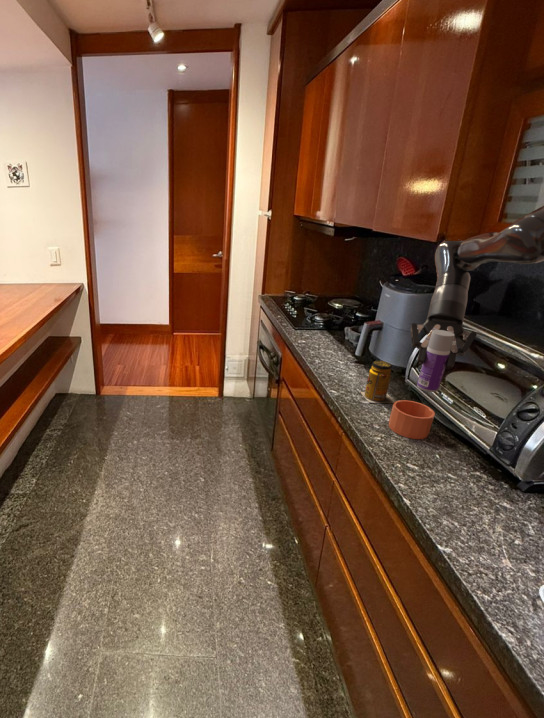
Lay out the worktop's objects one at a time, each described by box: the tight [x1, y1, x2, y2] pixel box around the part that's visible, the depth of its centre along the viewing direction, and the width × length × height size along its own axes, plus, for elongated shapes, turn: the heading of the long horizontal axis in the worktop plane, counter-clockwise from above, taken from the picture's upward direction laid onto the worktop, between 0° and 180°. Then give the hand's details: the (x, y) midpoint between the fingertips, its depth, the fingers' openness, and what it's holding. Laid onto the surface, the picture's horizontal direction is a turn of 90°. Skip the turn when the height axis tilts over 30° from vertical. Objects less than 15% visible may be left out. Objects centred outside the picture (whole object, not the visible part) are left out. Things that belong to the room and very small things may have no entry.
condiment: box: [360, 360, 396, 404], centre depth 122 cm, size 7×8×12 cm
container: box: [416, 330, 454, 393], centre depth 96 cm, size 5×5×15 cm
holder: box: [388, 399, 436, 440], centre depth 106 cm, size 10×10×6 cm
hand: (434, 365), depth 95 cm, fingers closed on container, 4 cm apart
